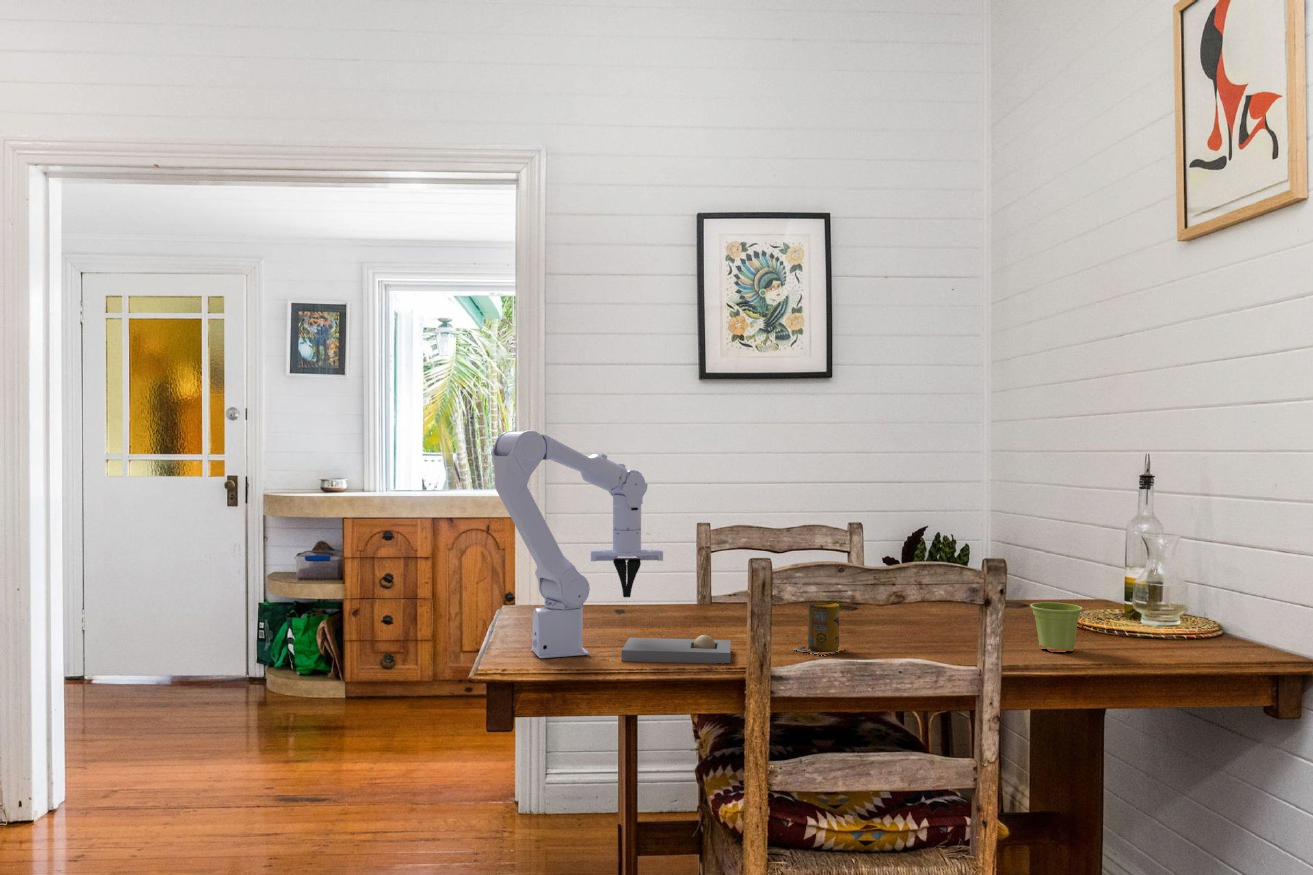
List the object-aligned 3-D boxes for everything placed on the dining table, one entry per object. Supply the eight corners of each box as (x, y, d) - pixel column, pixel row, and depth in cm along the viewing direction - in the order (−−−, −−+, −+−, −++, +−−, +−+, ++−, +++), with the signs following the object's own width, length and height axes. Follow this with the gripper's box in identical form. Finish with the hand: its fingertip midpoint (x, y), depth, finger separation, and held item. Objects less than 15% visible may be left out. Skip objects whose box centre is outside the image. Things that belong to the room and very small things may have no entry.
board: (621, 660, 166) (621, 650, 166) (629, 647, 177) (629, 637, 177) (730, 663, 164) (730, 652, 164) (730, 650, 175) (730, 639, 175)
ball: (713, 642, 167) (703, 660, 168) (722, 642, 171) (711, 660, 171) (697, 630, 169) (686, 648, 170) (705, 631, 173) (695, 648, 173)
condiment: (848, 650, 176) (848, 588, 176) (822, 657, 170) (822, 593, 170) (817, 644, 181) (817, 584, 181) (791, 650, 175) (792, 589, 176)
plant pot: (1030, 653, 174) (1030, 608, 174) (1030, 643, 183) (1030, 600, 183) (1084, 657, 170) (1083, 611, 170) (1080, 647, 179) (1080, 603, 179)
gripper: (591, 531, 177) (591, 600, 177) (664, 530, 178) (664, 599, 178) (590, 527, 184) (590, 594, 184) (661, 527, 185) (660, 593, 185)
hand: (626, 596), depth 181 cm, fingers closed
